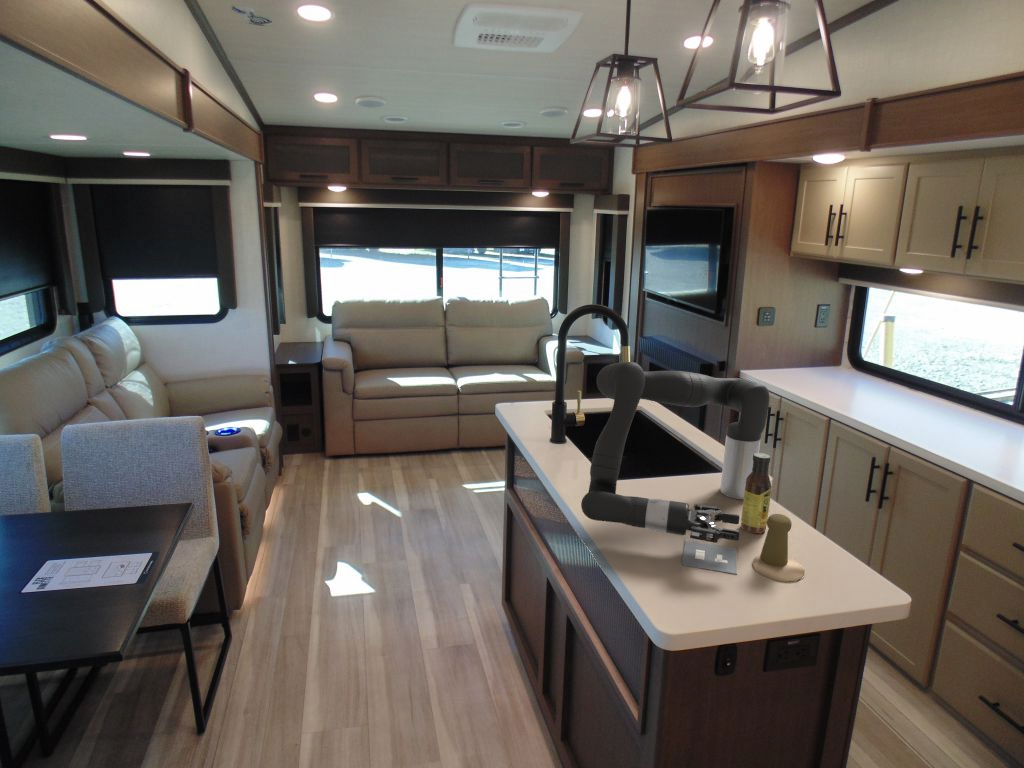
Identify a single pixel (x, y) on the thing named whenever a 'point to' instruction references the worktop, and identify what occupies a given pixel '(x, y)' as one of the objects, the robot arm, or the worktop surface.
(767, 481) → the sauce bottle
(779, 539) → the pepper shaker
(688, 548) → the tile
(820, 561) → the worktop surface
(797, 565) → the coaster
